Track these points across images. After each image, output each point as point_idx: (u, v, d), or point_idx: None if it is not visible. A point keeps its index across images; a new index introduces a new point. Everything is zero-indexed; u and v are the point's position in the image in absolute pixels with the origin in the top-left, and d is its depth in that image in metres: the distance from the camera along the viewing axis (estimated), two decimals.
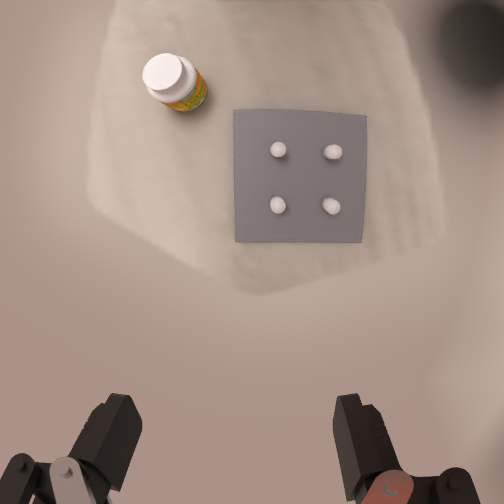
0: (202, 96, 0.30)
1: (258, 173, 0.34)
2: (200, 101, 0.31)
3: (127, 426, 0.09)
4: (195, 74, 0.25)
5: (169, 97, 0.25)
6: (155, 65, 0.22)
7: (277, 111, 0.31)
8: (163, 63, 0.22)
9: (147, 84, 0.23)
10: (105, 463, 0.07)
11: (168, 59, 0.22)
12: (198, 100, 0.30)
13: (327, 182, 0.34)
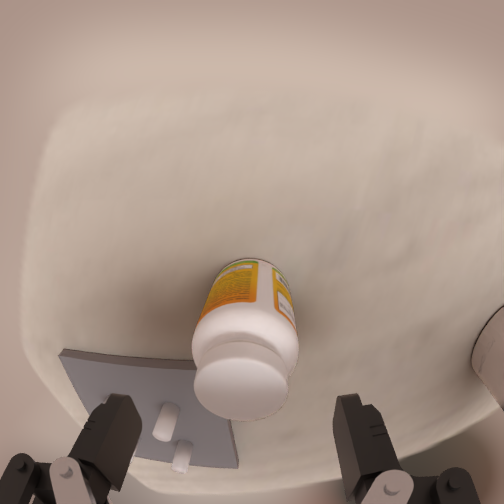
0: None
1: (137, 389, 0.23)
2: None
3: (127, 426, 0.09)
4: None
5: (197, 363, 0.13)
6: (257, 382, 0.11)
7: None
8: (261, 395, 0.11)
9: (207, 370, 0.11)
10: (105, 463, 0.07)
11: (269, 403, 0.11)
12: None
13: (153, 440, 0.25)
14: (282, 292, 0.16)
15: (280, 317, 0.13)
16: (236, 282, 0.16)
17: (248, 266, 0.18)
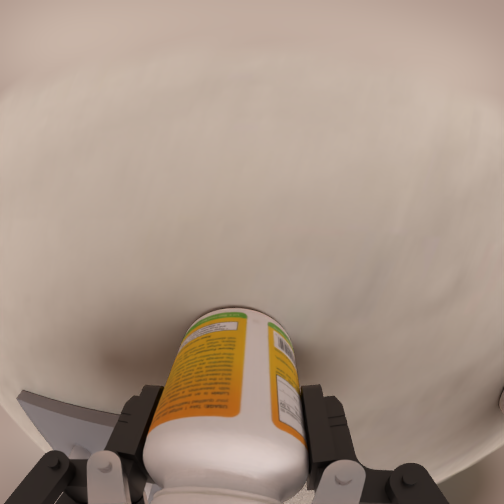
0: None
1: (105, 445, 0.16)
2: None
3: None
4: None
5: (155, 482, 0.07)
6: None
7: None
8: None
9: None
10: None
11: None
12: None
13: None
14: (284, 373, 0.10)
15: (282, 439, 0.07)
16: (209, 363, 0.09)
17: (231, 326, 0.11)
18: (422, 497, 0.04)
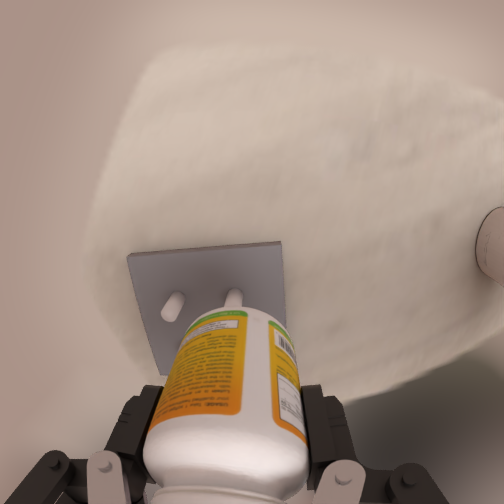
0: None
1: (205, 278, 0.29)
2: None
3: None
4: None
5: (155, 480, 0.07)
6: None
7: (282, 293, 0.29)
8: None
9: None
10: None
11: None
12: None
13: None
14: (285, 371, 0.10)
15: (283, 437, 0.07)
16: (209, 361, 0.09)
17: (232, 324, 0.11)
18: (422, 497, 0.04)
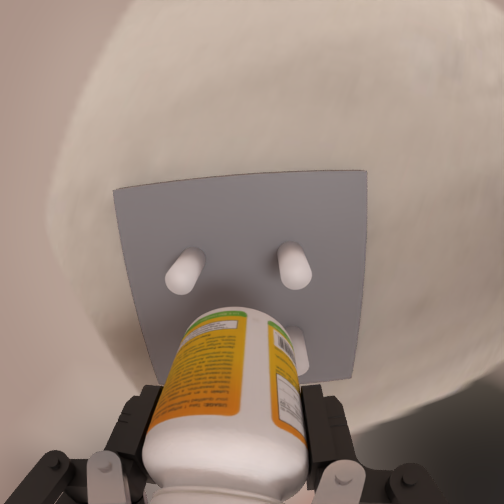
0: None
1: (243, 223, 0.18)
2: None
3: None
4: None
5: (154, 481, 0.07)
6: None
7: (362, 251, 0.18)
8: None
9: None
10: None
11: None
12: None
13: None
14: (284, 372, 0.10)
15: (282, 438, 0.07)
16: (208, 362, 0.09)
17: (231, 324, 0.11)
18: (422, 497, 0.04)
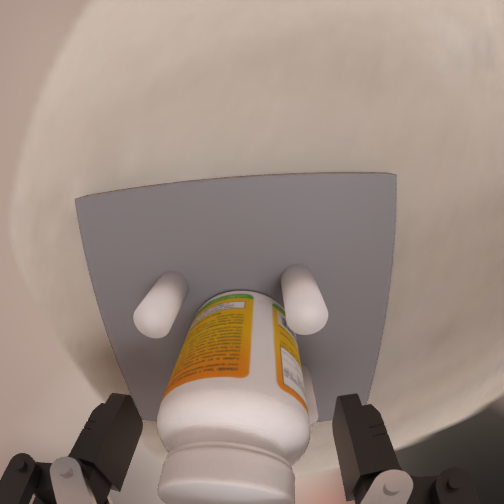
0: None
1: (236, 241, 0.14)
2: None
3: (127, 426, 0.09)
4: None
5: (166, 448, 0.08)
6: (249, 500, 0.06)
7: (387, 275, 0.14)
8: None
9: (173, 486, 0.05)
10: (105, 463, 0.07)
11: None
12: None
13: None
14: (287, 346, 0.11)
15: (286, 399, 0.08)
16: (220, 335, 0.10)
17: (239, 305, 0.12)
18: (461, 503, 0.04)
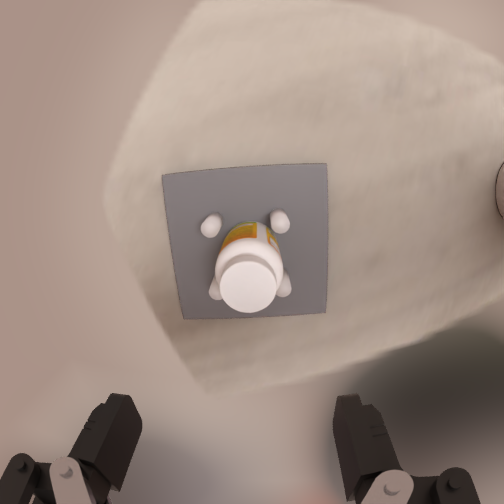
0: None
1: (248, 196, 0.28)
2: None
3: (127, 426, 0.09)
4: None
5: (219, 278, 0.22)
6: (258, 279, 0.20)
7: (325, 215, 0.28)
8: (260, 289, 0.20)
9: (229, 270, 0.20)
10: (105, 463, 0.07)
11: (265, 296, 0.20)
12: None
13: None
14: (272, 238, 0.25)
15: (271, 247, 0.22)
16: (243, 231, 0.25)
17: (250, 224, 0.27)
18: (462, 503, 0.04)
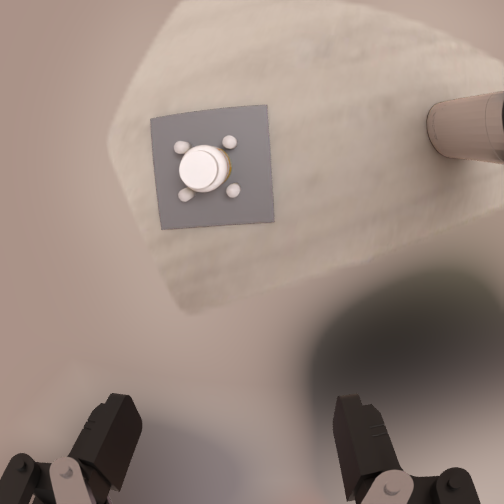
0: None
1: (210, 130, 0.36)
2: None
3: (127, 426, 0.09)
4: (205, 191, 0.32)
5: None
6: (204, 162, 0.28)
7: (267, 141, 0.37)
8: (206, 170, 0.29)
9: (185, 157, 0.28)
10: (105, 463, 0.07)
11: (209, 174, 0.29)
12: None
13: None
14: (223, 152, 0.34)
15: (218, 150, 0.31)
16: None
17: None
18: (462, 503, 0.04)
